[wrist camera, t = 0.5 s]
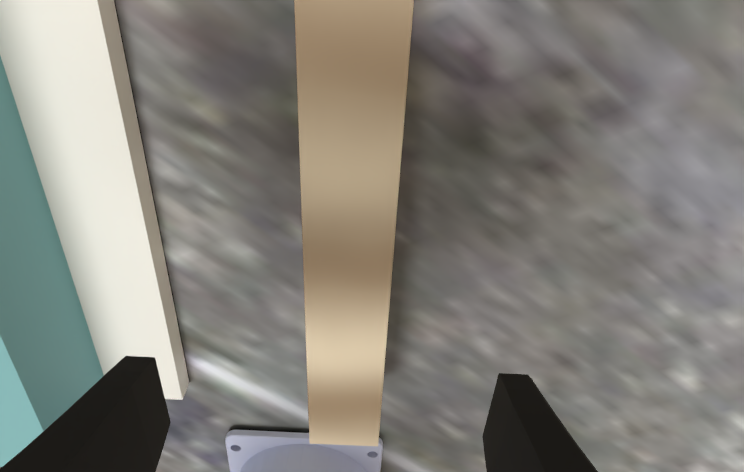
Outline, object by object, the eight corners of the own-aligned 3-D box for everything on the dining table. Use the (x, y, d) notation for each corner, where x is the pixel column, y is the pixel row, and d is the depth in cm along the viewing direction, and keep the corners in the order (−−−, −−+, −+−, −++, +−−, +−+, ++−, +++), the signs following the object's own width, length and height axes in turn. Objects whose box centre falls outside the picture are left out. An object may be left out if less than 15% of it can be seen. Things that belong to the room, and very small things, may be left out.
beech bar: (378, 372, 24) (377, 446, 21) (319, 369, 24) (309, 443, 21) (410, -69, 14) (419, -66, 11) (312, -75, 14) (291, -73, 11)
